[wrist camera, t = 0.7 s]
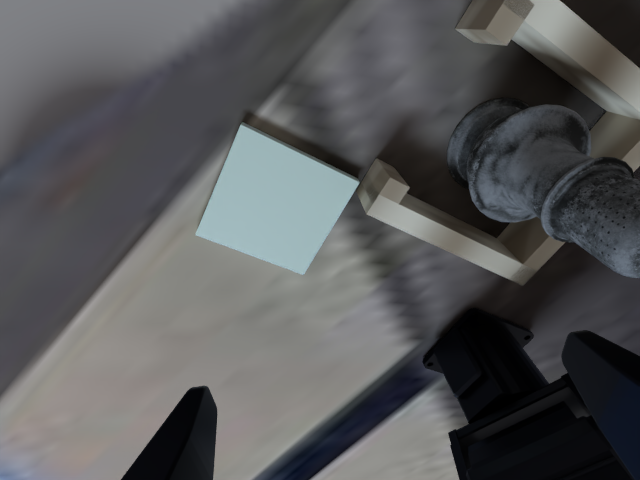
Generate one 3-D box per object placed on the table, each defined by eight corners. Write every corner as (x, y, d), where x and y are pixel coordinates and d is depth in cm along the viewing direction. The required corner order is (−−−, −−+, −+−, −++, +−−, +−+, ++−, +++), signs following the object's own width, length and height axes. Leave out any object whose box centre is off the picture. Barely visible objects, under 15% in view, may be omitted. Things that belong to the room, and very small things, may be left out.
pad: (357, 178, 20) (359, 182, 20) (303, 269, 23) (303, 274, 23) (242, 121, 18) (240, 124, 18) (197, 229, 21) (195, 234, 21)
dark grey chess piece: (426, 186, 21) (562, 338, 11) (467, 80, 18) (703, 152, 8) (513, 201, 22) (710, 353, 12) (564, 104, 19) (882, 193, 9)
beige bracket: (638, 101, 20) (691, 112, 17) (497, 258, 24) (522, 285, 22) (485, -22, 16) (524, -31, 13) (356, 190, 21) (366, 214, 18)
